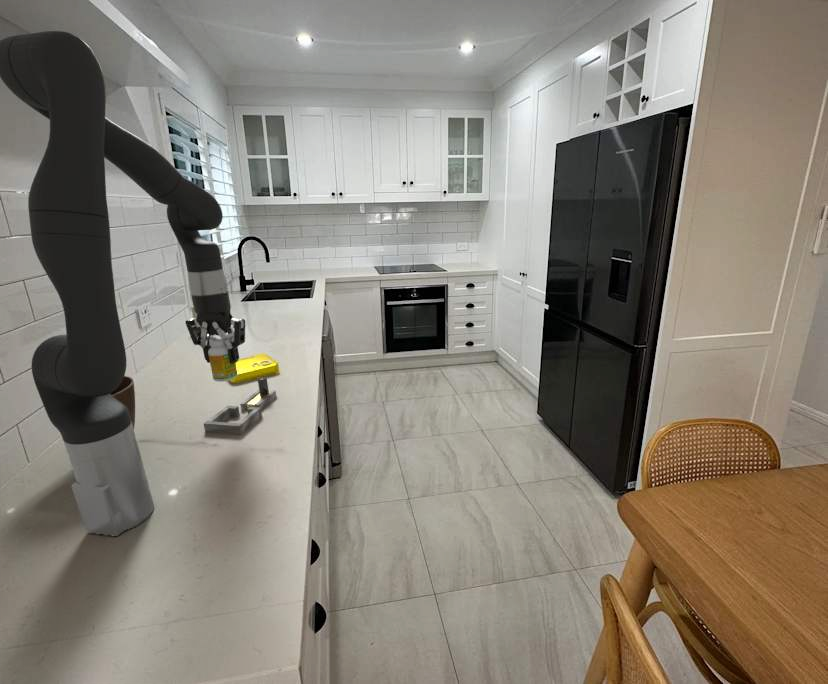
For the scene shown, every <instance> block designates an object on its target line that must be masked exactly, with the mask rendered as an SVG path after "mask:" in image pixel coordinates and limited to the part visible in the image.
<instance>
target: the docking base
mask: <svg viewBox="0 0 828 684" xmlns="http://www.w3.org/2000/svg"><path fill="white" fill-rule="evenodd" d="M269 392H270V393H269V394H267V395H266V396H265V397H264V398H262V399H261V400H260V401H259V402H258V403H256V404H255V407H249V408H248V409H247V405H246V404H247V403H248V402H250V401H251V400H252V399H253V398H255V397H256V396H257V395H258V394H260V392H259V389H257V390H256V391H255V392H254V393H252V394H251V395H249V397H247V398H246V399H245V400H243V401H242V402H241V403H240V404H239V405H240V408H239V406H238V405H227V406H225V407H224V408H222V409H221V410H220V411H218V412H217V413H216V414H214V415H213V416H212V417H210V418H209V419H207V420H206V421H205V422H204V423H203V429H204V433H209V434H210V433H211V434H223V435H234V436H235V435H237V436H238V435H239V436H241V435H243V434H244V433H245V432H246V431H247V430H248V429H249V428H250V427H252V426H253V425H254V424H255V423H256V422H257V421H258V420H260V419H261V418H262V417H263V413H262V410H263V409H264V408H265V407H266V406H267V405H269V404H270V403H272V401H273V400H275V398H277V391H276V390H271V391H269ZM240 410H241V411H246V412H247V415H245V416H244V417H243V418H242V419H241V420H240V421H239V422H227V421H226V420H228V419H230V418H231V417H233V418H234V417H235V418H238V416H240V414H241V413H240Z"/></svg>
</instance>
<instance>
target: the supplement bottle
mask: <svg viewBox="0 0 828 684" xmlns="http://www.w3.org/2000/svg"><path fill="white" fill-rule="evenodd" d="M209 343H210V346H211V347H212V348H210V349H209V350H208V355H209V360H210V363H209V364H210V369H211V373H212V379H213V381H215V382H217V383H218V382H219V383H221V382H227V381H229V380H232V379H234V378H236V377H237V375H238V373H237V367H236V363H234V364H231V363H230V360H229V355H228V346H227V345H226V343H225V341H223V340H222V339H221V337H220V336H215V337H213V338H211V339H209ZM229 382H230V381H229Z"/></svg>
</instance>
